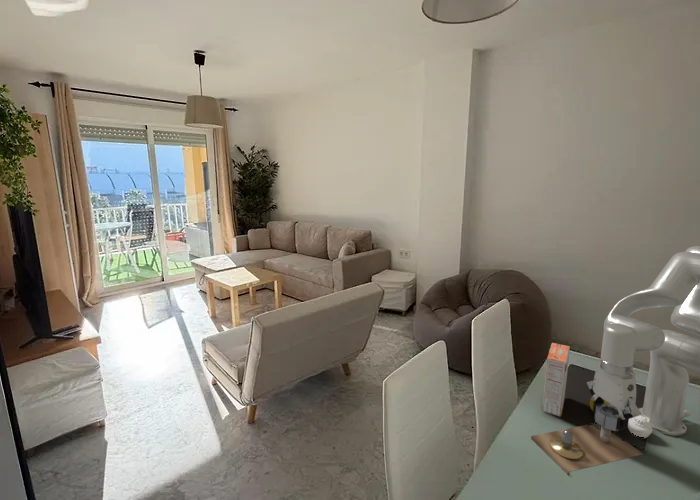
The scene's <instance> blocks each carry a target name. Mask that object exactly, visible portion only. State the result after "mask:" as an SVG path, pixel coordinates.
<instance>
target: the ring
mask: <svg viewBox="0 0 700 500" xmlns="http://www.w3.org/2000/svg"><path fill="white" fill-rule="evenodd" d="M623 412H624V414H626V413H625V410H623ZM618 417H620V415H619V412H618V409H617V408H616V407H615V406H613V405H612V404H607V403H600V404H596V408H595V413H594V421H595V422H594V423H598V424H599V425H601V426H602V427H603V428H606V429H610V430H611V431H613V432H619V431H620V430H617V428H616V426H617V419H618Z"/></svg>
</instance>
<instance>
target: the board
mask: <svg viewBox="0 0 700 500" xmlns="http://www.w3.org/2000/svg"><path fill="white" fill-rule="evenodd" d="M593 423H594V424H595V423H597V422H593ZM587 425H588V424H584V425H580V426H579V425H578V426H575V427H570V428H564V429H558V430H554V431H550V432H549V431H548V432H544V433H540V434H539V433H538V434H535V435H531V437H530V440H531V441H532V442H533V443H535V444H536V445H537V446H538V447H539V448H540V449H541V450H542V451H543V452H544V453H545V454H546V455H547V457H549V459H551V460H552V461H553V462H554V463H555V464H556V465H557V466H558V467H559V468H560V469H561V470H562V471H563V472H564V473H565V474H567V475H568V476H569V475H571V473H570V472H575V471H578V470H583V469H588V468H591V467H595V466H596V467H597V466H600V465H603V464H608V463H609V464H610V463H613V462H617V461H621V460H625V459H629V458H630V459H631V458H635V457H638V456H642V455H644V453H643V452H642V451H640V450H639V449H637V448H636V447H634V446H633V445H632V444H630V442H628V441H626V440H625V441H626V442H625V441H622V440H621V439H619V438H617V437H616V436H615V435H613V434H611V431H612V430H610V429H606V428H603V427H602V426H601V430H598V429H596V428H595V427H594V426H593V427H592V426H591V425H590V426H587ZM597 425H598V423H597ZM599 428H600V426H599ZM564 430H569V431H571V432H572V434H573V441H574V442H576V443H577V444H578V445H580V447H581V448H582V450H583V457H582V458H581V459H579V460H569V459H566V458H563V457H561V456H559V455H557V454H556V453H555V452H554V451H553V450H552V449H551V447H550V439H551V438H553V437H557V436H560V437H562V433H563V431H564ZM627 442H628V443H627Z"/></svg>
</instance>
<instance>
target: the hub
mask: <svg viewBox="0 0 700 500" xmlns="http://www.w3.org/2000/svg"><path fill="white" fill-rule="evenodd" d="M563 430H564V429H563ZM550 447H551V449H552V450H553V451H554V452H555V453H556V454H557V455H559V456H561V457H563V458H566V459H569V460H579V459H581V458H582V457H583V450H582V448H581V447H580V445H578V444H577V443H576V442H574V441H573V434H572V432H571V431H569V430H564V431H563V433H562V437H560V436H557V437H553V438H551V439H550Z"/></svg>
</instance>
